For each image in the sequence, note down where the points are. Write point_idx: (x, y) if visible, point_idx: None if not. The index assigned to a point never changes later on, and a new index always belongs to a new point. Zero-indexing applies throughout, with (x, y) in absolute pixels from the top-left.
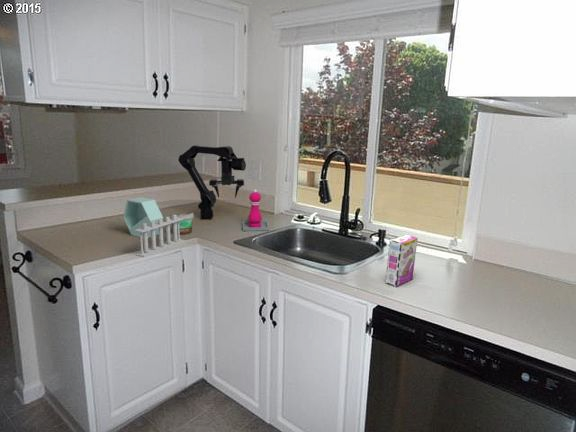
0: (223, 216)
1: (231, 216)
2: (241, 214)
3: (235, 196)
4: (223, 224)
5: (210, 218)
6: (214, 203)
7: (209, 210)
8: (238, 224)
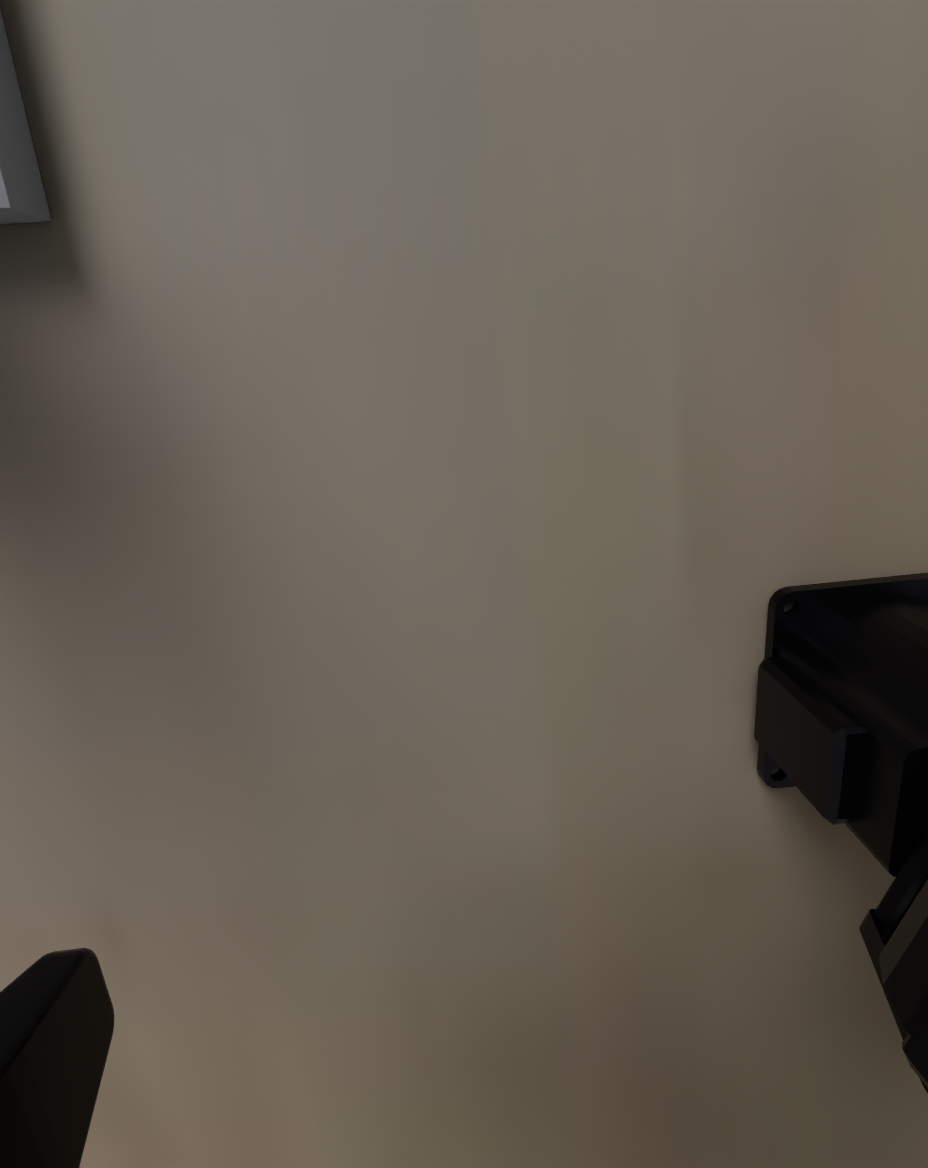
0: (562, 825)
1: (417, 840)
2: (257, 978)
3: (23, 1004)
4: (505, 206)
5: (801, 604)
6: (888, 941)
7: (923, 703)
8: (158, 222)
